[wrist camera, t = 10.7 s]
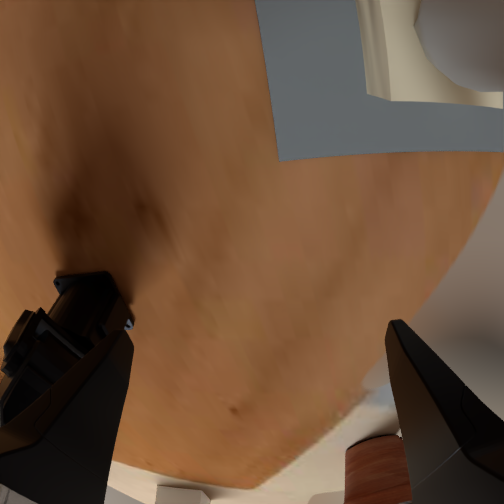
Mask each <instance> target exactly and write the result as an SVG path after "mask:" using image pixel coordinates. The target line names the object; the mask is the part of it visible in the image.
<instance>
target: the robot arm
mask: <svg viewBox="0 0 504 504" xmlns="http://www.w3.org/2000/svg"><path fill="white" fill-rule="evenodd" d="M105 277H106V278H107V279H106V278H105ZM53 282H54V285H55V287H56V289H57V290H58V292H59V294H60V295H59V297H58V298H57V300H56V301H55V303H54V304H53V306H52V308H51V309H50V311H49V312H48V314H46V313H45V311H44V310H43V309H42V308H41V307H40V308H39V309H38V310H37V311H36V312H33V311H29V310H25V311H24V312H23V313H22V315H21V316H20V318H19V319H18V321H17V322H16V324H15V325H14V327H13V328H12V330H11V332H10V334H9V336H8V338H7V340H6V342H5V344H4V346H3V348H4V354H5V355H4V358H3V363H2V366H1V369H0V370H1V371H3V372H4V373H5V376H4V377H3V379H2V381H1V383H0V504H104V500H105V494H106V488H107V481H108V476H109V471H110V466H111V461H112V456H113V451H114V446H115V441H116V437H117V432H118V428H119V423H120V419H121V415H122V411H123V406H124V402H125V398H126V394H127V390H128V386H129V380H130V373H131V366H132V359H133V353H134V345H133V343H132V341H131V339H130V337H129V335H128V333H127V332H126V330H131V329H133V326H134V322H133V321H132V319H131V317H130V314H129V312H128V310H127V308H126V306H125V304H124V301H123V299H122V297H121V295H120V294H119V292H118V290H117V288H116V285H115V283H114V281H113V279H112V277H111V275H110V274H109V273H108V272H105V271H103V272H94V273H85V274H76V275H67V276H58V277H56V278H55V279H54V281H53ZM128 324H129V325H128ZM385 346H386V353H387V360H388V368H389V376H390V383H391V388H392V392H393V397H394V401H395V405H396V410H397V414H398V419H399V424H400V429H401V433H402V439H403V444H404V449H405V455H406V460H407V466H408V472H409V478H410V485H411V489H412V490H411V492H412V500H413V504H504V421H503V420H501V418H499V417H498V416H497V415H496V414H495V413H494V412H492V411H491V410H490V409H489V408H488V407H487V406H486V405H485V404H484V403H483V402H482V401H481V400H480V399H478V397H477V396H476V395H475V394H474V393H473V392H472V391H471V390H470V389H469V388H468V387H467V386H465V384H464V383H463V382H462V380H461V379H460V378H459V377H458V376H457V375H456V374H455V373H454V372H453V371H452V370H451V369H450V368H449V367H448V366H447V365H446V364H445V363H444V361H443V360H442V359H441V358H440V357H439V356H438V355H437V354H436V353H435V352H434V351H433V350H432V349H431V348H430V347H429V346H428V345H427V344H426V343H425V342H424V341H423V340H422V339H421V338H420V337H419V336H418V335H417V334H416V333H415V332H414V331H413V330H412V329H411V328H410V327H409V326H408V325H407V324H406V323H405V322H404V321H403V320H401V319H397V320H391V321H390V322H389V324H388V328H387V332H386V336H385Z"/></svg>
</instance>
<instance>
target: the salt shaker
mask: <svg viewBox="0 0 504 504" xmlns="http://www.w3.org/2000/svg"><path fill="white" fill-rule="evenodd" d="M413 27H414V29H415V31H416V33H417V36H418V38H419V41H420V43H421V46H422V48H423V51H424V53H425V56H426V58H427V59H428V60H429V61H430V62H431V63H432V64H433V65H434V66H435V67H436V68H437V69H438V70H439V71H441V72H442V73H443V74H444V75H445V76H447V77H448V78H449V79H450V80H451V81H452V82H454V83H455V84H457V85H459V86H462V87H465V88H469V89H472V90H475V91H479V92H504V0H421V4H420V9H419V13H418V18H417V21H416V23H415V25H414V26H413Z"/></svg>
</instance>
